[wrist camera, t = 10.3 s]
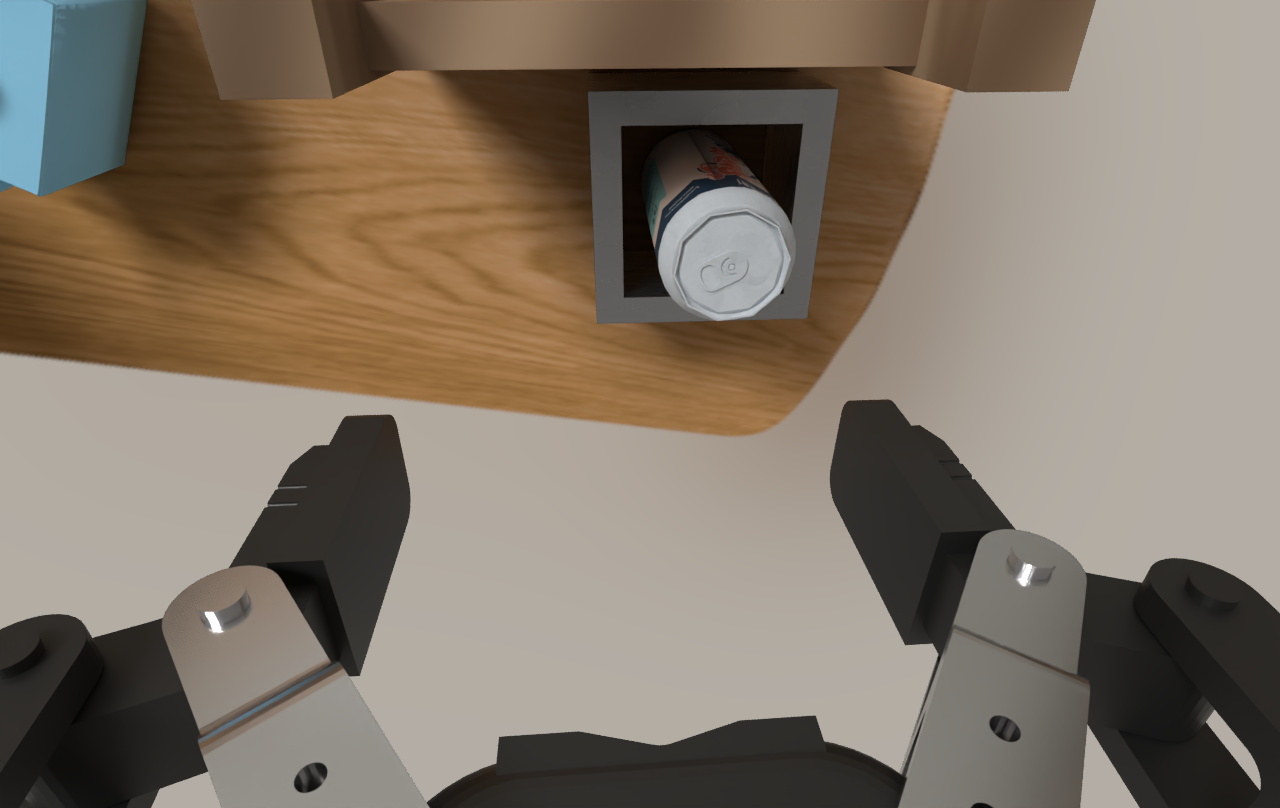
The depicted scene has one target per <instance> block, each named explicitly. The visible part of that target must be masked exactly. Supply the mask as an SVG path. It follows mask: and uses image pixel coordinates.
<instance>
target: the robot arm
mask: <svg viewBox="0 0 1280 808" xmlns="http://www.w3.org/2000/svg"><path fill="white" fill-rule="evenodd" d="M830 487H831V494H832V498H833V501H834V503H835V506H836V507H837V509H838V512H839V513H840V516H841V518H842V519H843V521H844V524H845V526H846V527H847V529H848V532H849V534H850V535H851V537H852V540H853V542H854V544H855V545H856V548H857V549H858V551H859V554H860V555H861V557H862V560H863V562H864V564H865V566H866V567H867V569H868V572H869V574H870V575H871V578H872V580H873V582H874V584H875V586H876V588H877V590H878V592H879V594H880V596H881V598H882V600H883V601H884V604H885V605H886V608H887V610H888V612H889V614H890V616H891V617H892V619H893V621H894V623H895V626H896V628H897V630H898V631H899V634H900V636H901V637H902V639H903V642H904V644H905V645H915V644H932V643H933V645H934V647H935V649H936V650H937V652H938V657H937V660H936V662H935V665H934V668H933V671H932V674H931V677H930V680H929V684H928V687H927V690H926V693H925V696H924V699H923V702H922V705H921V708H920V712H919V715H918V718H917V721H916V724H915V727H914V730H913V733H912V736H911V740H910V743H909V746H908V749H907V752H906V755H905V758H904V761H903V764H902V767H901V770H900V773H898V772H896V771H895V770H894V769H892V768H891V767H889V766H887V765H885V764H883V763H882V762H880V761H878V760H876V759H874V758H872V757H870V756H868V755H866V754H863V753H861V752H859V751H856V750H854V749H850V748H848V747H844V746H841V745H838V744H834V743H829V742H825V741H824V740H823V737H822V734H821V731H820V728H819V725H818V722H817V719H816V716H801V717H787V718H772V719H758V720H742V721H737V722H734V723H731V724H728V725H725V726H722V727H719V728H716V729H714V730H710V731H707V732H705V733H702V734H698V735H696V736H693V737H690V738H687V739H684V740H681V741H678V742H675V743H672V744H668V745H660V746H659V745H651V744H645V743H640V742H634V741H629V740H623V739H617V738H612V737H606V736H601V735H595V734H590V733H584V732H565V733H550V734H536V735H521V736H505V737H499V744H498V754H497V764H494V765H491V766H488V767H485V768H482V769H480V770H478V771H476V772H474V773H472V774H469V775H467V776H465V777H463V778H461V779H460V780H458V781H456V782H455V783H453V784H451V785H450V786H448V787H447V788H445V789H444V790H442V791H441V792H440V793H438V794H437V795H436V796H434V797H433V798H432V799H430V800H429V801H428V802H427V803H426V801H425V800H424V798H423V796H422V795H421V793H420V791H419V790H418V788H417V787H416V785H415V783H414V782H413V780H412V778H411V777H410V775H409V773H408V772H407V770H406V769H405V767H404V765H403V764H402V762H401V760H400V759H399V757H398V756H397V754H396V752H395V751H394V749H393V748H392V746H391V744H390V743H389V741H388V739H387V738H386V736H385V734H384V733H383V731H382V730H381V728H380V726H379V725H378V723H377V721H376V720H375V718H374V717H373V715H372V714H371V712H370V710H369V708H368V707H367V705H366V704H365V702H364V700H363V699H362V697H361V695H360V694H359V692H358V691H357V689H356V687H355V686H354V684H353V682H352V681H351V679H350V678H349V676H360V673H361V670H362V667H363V664H364V660H365V657H366V654H367V651H368V647H369V644H370V641H371V638H372V634H373V632H374V628H375V625H376V622H377V619H378V615H379V612H380V609H381V606H382V603H383V600H384V596H385V593H386V590H387V587H388V583H389V580H390V577H391V574H392V571H393V568H394V564H395V561H396V558H397V555H398V552H399V549H400V545H401V542H402V539H403V536H404V532H405V529H406V526H407V523H408V519H409V514H410V488H409V482H408V477H407V473H406V468H405V463H404V458H403V453H402V448H401V443H400V439H399V434H398V429H397V425H396V422H395V420H394V417H393V416H392V415H363V416H346V417H345V418H344V419H343V420H342V422H341V424H340V426H339V427H338V429H337V431H336V433H335V435H334V437H333V439H332V440H331V442H330V444H329V445H321V446H313V447H312V448H311V449H309V450H308V451H307V452H306V453H304V454H303V455H302V456H301V457H299V458H298V459H297V460H295V461H294V462H293V463H292V464H291V465H290V466H289V468H288V469H287V471H286V473H285V475H284V476H283V478H282V480H281V481H280V483H279V485H278V490H275V491H274V493H273V495H272V496H271V498H270V500H269V501H268V507H267V508H264V510H263V511H262V514H261V515H260V517H259V518H258V520H257V522H256V523H255V525H254V527H253V528H252V530H251V532H250V533H249V535H248V537H247V538H246V540H245V542H244V543H243V545H242V547H241V548H240V550H239V552H238V553H237V555H236V557H235V559H234V560H233V562H232V564H231V565H230V567H229V568H228V569H224V570H221V571H218V572H215V573H213V574H210V575H208V576H206V577H204V578H202V579H200V580H198V581H197V582H195V583H194V584H192V585H190V586H189V587H188V588H186V589H185V590H184V591H182V592H181V593H180V594H179V595H178V596H177V597H176V598H175V599H174V600H173V602H172V603H171V604H170V605H169V607H168V609H167V610H166V612H165V614H164V617H163V618H162V619H158V620H155V621H152V622H149V623H145V624H142V625H138V626H134V627H130V628H127V629H123V630H120V631H116V632H113V633H109V634H105V635H102V636H98V637H95V638H92V637H91V635H90V633H89V632H88V630H87V628H86V627H85V625H84V624H83V623H82V622H81V621H80V620H79V619H77V618H76V617H72V616H69V615H61V614H56V615H55V614H52V615H44V616H38V617H34V618H30V619H26V620H23V621H20V622H17V623H14V624H12V625H10V626H7V627H5V628H2V629H1V630H0V808H151V807H152V804H153V802H154V800H155V798H156V796H157V793H158V791H159V789H160V788H163V787H166V786H168V785H171V784H174V783H177V782H180V781H183V780H186V779H188V778H191V777H194V776H197V775H200V774H203V773H205V772H209V775H210V777H211V780H212V783H213V786H214V788H215V791H216V794H217V797H218V799H219V802H220V805H221V808H1080V802H1081V791H1082V780H1083V768H1084V757H1085V745H1086V734H1087V724H1088V726H1089V727H1090V729H1091V731H1092V732H1093V734H1094V735H1095V737H1096V738H1097V740H1098V742H1099V743H1100V745H1101V747H1102V748H1103V750H1104V751H1105V753H1106V754H1107V756H1108V758H1109V759H1110V761H1111V762H1112V764H1113V766H1114V767H1115V769H1116V770H1117V772H1118V774H1119V775H1120V777H1121V778H1122V780H1123V782H1124V783H1125V785H1126V786H1127V788H1128V790H1129V791H1130V793H1131V794H1132V796H1133V798H1134V799H1135V801H1136V802H1137V804H1138V806H1139V807H1140V808H1280V613H1279V612H1278V611H1277V610H1276V609H1275V608H1274V607H1273V606H1272V605H1271V604H1270V603H1269V602H1267V601H1266V600H1265V599H1264V598H1263V597H1262V596H1261V595H1260V594H1259V593H1258V592H1257V591H1255V590H1254V589H1253V588H1252V587H1250V586H1249V585H1248V584H1246V583H1245V582H1243V581H1242V580H1240V579H1238V578H1237V577H1235V576H1233V575H1231V574H1229V573H1227V572H1225V571H1223V570H1221V569H1218V568H1216V567H1214V566H1211V565H1208V564H1205V563H1202V562H1198V561H1194V560H1188V559H1177V558H1171V559H1164V560H1160V561H1158V562H1156V563H1155V564H1153V565H1152V566H1151V568H1150V570H1149V571H1148V573H1147V575H1146V577H1145V579H1144V581H1143V582H1142V583H1140V582H1134V581H1129V580H1123V579H1118V578H1112V577H1106V576H1101V575H1095V574H1090V573H1086V572H1085V571H1084V569H1083V567H1082V566H1081V564H1080V563H1079V562H1078V561H1077V559H1076V558H1075V557H1074V556H1073V555H1072V554H1071V553H1070V552H1068V551H1067V550H1065V549H1064V548H1063V547H1061V546H1060V545H1058V544H1056V543H1055V542H1053V541H1051V540H1049V539H1047V538H1045V537H1042V536H1039V535H1037V534H1034V533H1030V532H1026V531H1021V530H1016V529H1015V528H1014V527H1013V526H1012V524H1011V523H1010V522H1009V521H1008V519H1007V518H1006V517H1005V516H1004V515H1003V513H1002V512H1001V511H1000V510H999V508H998V507H997V506H996V505H995V503H994V502H993V501H992V500H991V498H990V497H989V496H988V495H987V494H986V492H985V491H984V490H983V489H982V487H981V486H980V485H979V484H978V482H977V481H976V480H975V479H974V480H973V479H972V475H971V474H970V473H969V471H968V470H967V469H966V468H965V466H964V465H963V464H960V463H959V459H958V458H957V456H956V455H955V454H954V453H953V451H952V450H951V449H950V448H949V447H948V445H947V444H946V443H945V442H944V441H943V440H941V439H940V438H938V437H937V436H935V435H934V434H932V433H931V432H929V431H928V430H926V429H924V428H923V427H922V426H920V425H916V426H911V425H910V423H909V422H908V421H907V419H906V418H905V417H904V415H903V414H902V413H901V412H900V410H899V409H898V408H897V406H896V405H895V404H894V403H893V402H892V401H891V400H859V401H858V400H857V401H848V402H846V404H845V405H844V407H843V410H842V413H841V418H840V424H839V429H838V434H837V439H836V444H835V449H834V455H833V459H832V465H831V470H830ZM1214 710H1216V711H1217V713H1218V714H1219V715H1220V716H1221V718H1222V719H1223V720H1224V721H1225V722H1226V724H1227V725H1228V726H1229V727H1230V728H1231V730H1232V731H1233V732H1234V733H1235V735H1236V736H1237V737H1238V738H1239V740H1240V741H1241V742H1242V743H1243V744H1244V746H1245V747H1246V748H1247V749H1248V751H1249V752H1250V753H1251V755H1252V757H1253V759H1254V760H1255V763H1256V765H1257V767H1258V770H1259V773H1260V778H1261V790H1259V789H1258V788H1257V786H1256V785H1255V784H1254V783H1253V781H1252V780H1251V779H1250V778H1249V776H1248V775H1247V774H1246V772H1245V771H1244V770H1243V769H1242V767H1241V766H1240V765H1239V764H1238V762H1237V761H1236V760H1235V759H1234V757H1233V756H1232V755H1231V753H1230V752H1229V751H1228V750H1227V749H1226V747H1225V746H1224V745H1223V743H1222V742H1221V741H1220V740H1219V738H1218V737H1217V736H1216V734H1215V733H1214V732H1213V731H1212V729H1211V728H1210V727H1209V726H1208V724H1207V723H1206V721H1207V719H1208V718H1209V717H1210V715H1211V714H1212V712H1213V711H1214Z"/></svg>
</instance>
